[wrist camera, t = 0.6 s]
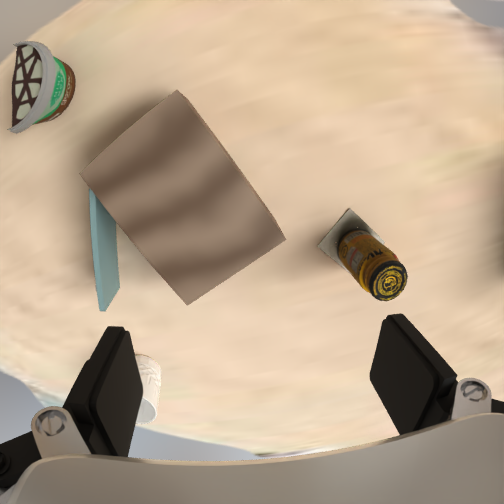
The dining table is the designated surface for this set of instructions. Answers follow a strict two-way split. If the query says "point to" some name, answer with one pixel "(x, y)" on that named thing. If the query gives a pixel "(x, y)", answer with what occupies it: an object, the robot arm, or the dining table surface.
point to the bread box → (182, 199)
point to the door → (104, 252)
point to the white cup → (148, 388)
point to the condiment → (365, 257)
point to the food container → (39, 86)
